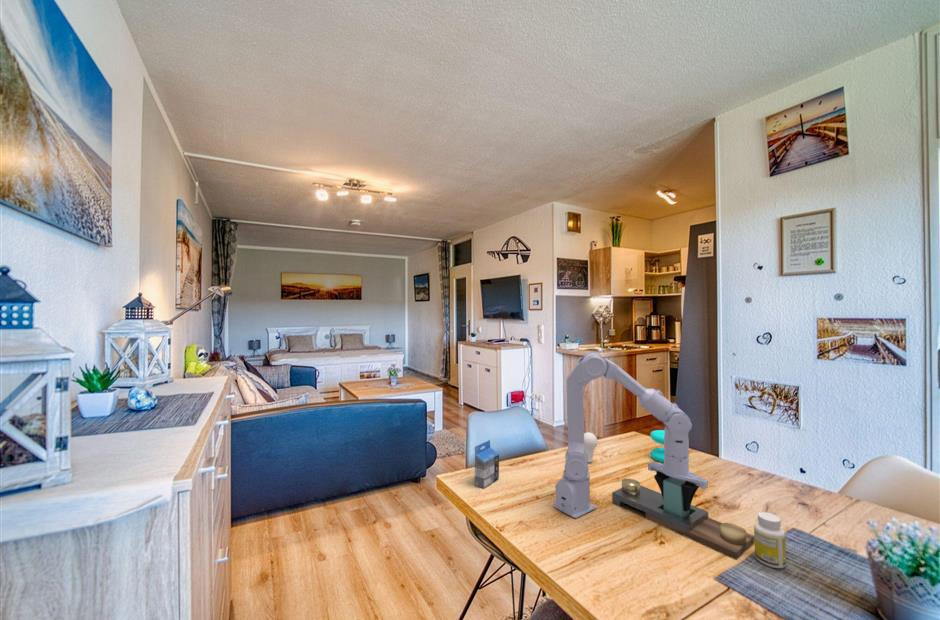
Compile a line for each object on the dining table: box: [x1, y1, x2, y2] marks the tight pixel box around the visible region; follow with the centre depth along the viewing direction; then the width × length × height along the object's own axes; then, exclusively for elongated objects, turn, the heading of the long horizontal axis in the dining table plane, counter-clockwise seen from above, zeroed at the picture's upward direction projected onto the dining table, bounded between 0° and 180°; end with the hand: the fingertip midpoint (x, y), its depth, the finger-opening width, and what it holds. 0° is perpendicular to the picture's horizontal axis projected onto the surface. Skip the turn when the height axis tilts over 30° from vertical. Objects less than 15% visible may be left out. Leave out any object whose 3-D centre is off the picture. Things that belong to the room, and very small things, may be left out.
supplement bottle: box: [753, 511, 787, 569], centre depth 83 cm, size 5×5×10 cm
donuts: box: [649, 429, 665, 464], centre depth 141 cm, size 10×10×10 cm
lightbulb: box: [584, 431, 599, 464], centre depth 138 cm, size 6×6×11 cm
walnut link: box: [645, 512, 754, 560], centre depth 95 cm, size 11×21×4 cm, turn 36°
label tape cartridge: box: [474, 439, 500, 489], centre depth 121 cm, size 9×4×12 cm, turn 143°
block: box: [663, 477, 689, 519], centre depth 99 cm, size 4×4×9 cm
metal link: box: [611, 478, 709, 532], centre depth 103 cm, size 11×21×5 cm, turn 36°
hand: (676, 505), depth 99 cm, fingers open, 4 cm apart
